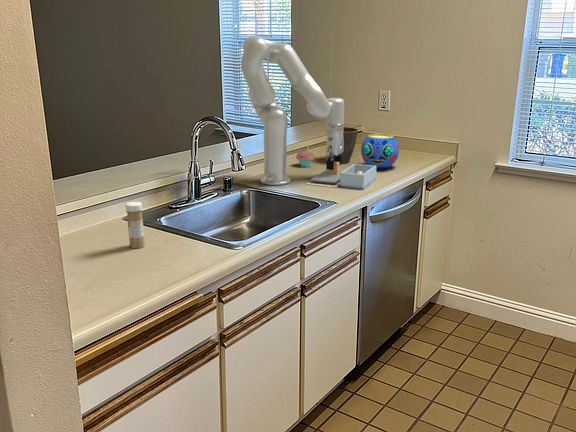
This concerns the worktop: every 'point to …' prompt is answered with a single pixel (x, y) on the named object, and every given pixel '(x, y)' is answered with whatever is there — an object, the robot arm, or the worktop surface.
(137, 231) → the sprinkles bottle
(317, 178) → the lid
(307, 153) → the cupcake
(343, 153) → the plant pot
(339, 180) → the mat
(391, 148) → the ceramic pot
